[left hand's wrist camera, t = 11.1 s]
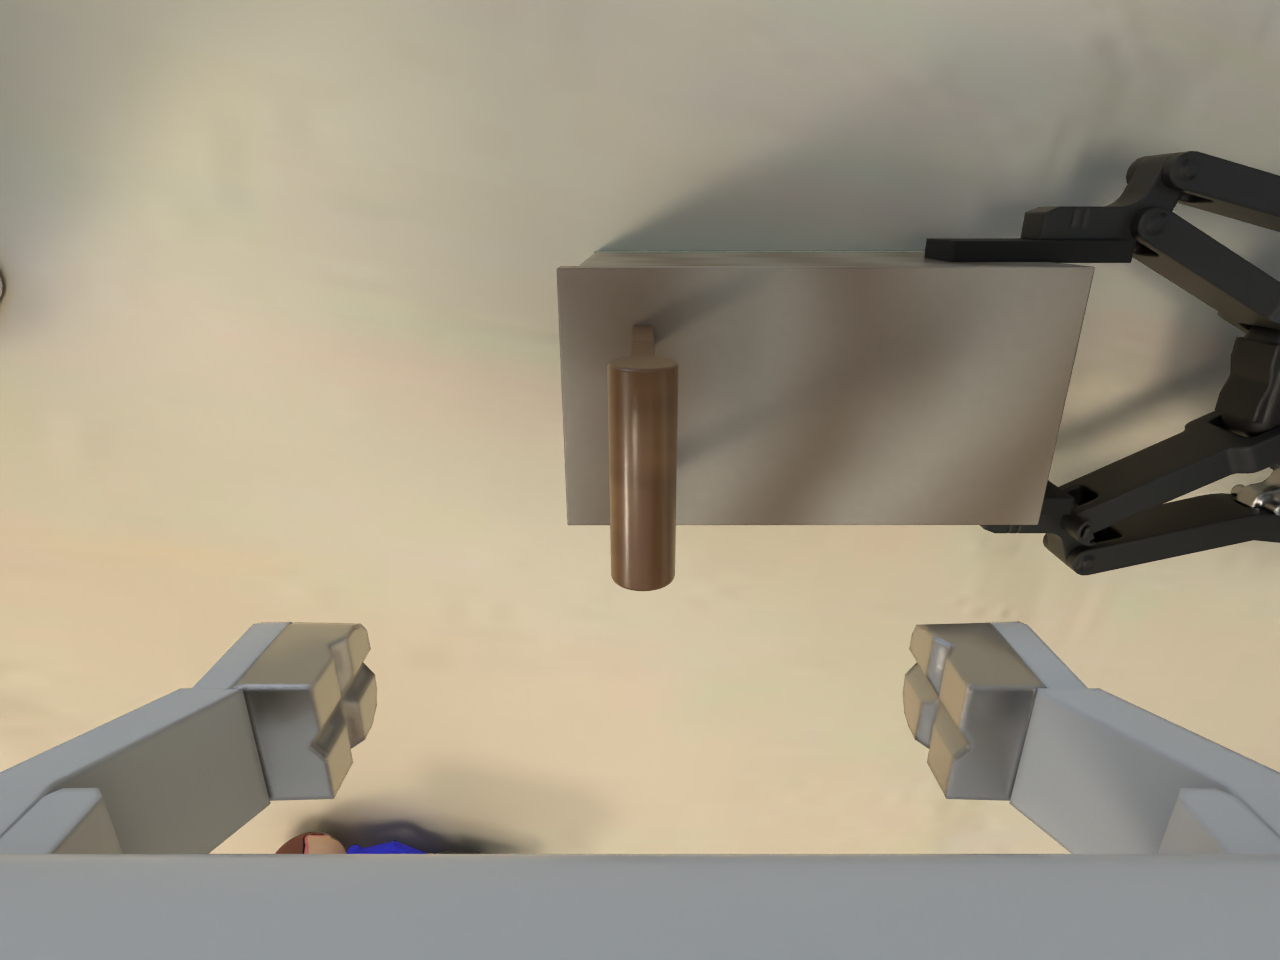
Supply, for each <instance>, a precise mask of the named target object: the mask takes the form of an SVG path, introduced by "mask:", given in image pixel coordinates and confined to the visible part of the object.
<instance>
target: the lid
mask: <svg viewBox="0 0 1280 960" xmlns="http://www.w3.org/2000/svg"><path fill="white" fill-rule="evenodd" d="M1093 274H1094V267H1089V266H1080V265H977V266H560V267H559V268H557V289H558V313H559V336H560V360H561V383H562V407H563V430H564V453H565V477H566V500H567V524H568V525H610V538H611V576H612V578H613V580H614V582H615V583H616V584H618V585H619V586H621V587H623V588H626V589H630V590H635V591H651V590H657V589H660V588H663V587H665V586H667V585H668V584H670V583H671V582H672V580H673V579H674V576H675V539H676V525H1038V522H1039V517H1040V513H1041V508H1042V504H1043V499H1044V495H1045V490H1046V486H1047V481H1048V477H1049V472H1050V468H1051V463H1052V459H1053V454H1054V450H1055V445H1056V441H1057V436H1058V432H1059V427H1060V423H1061V418H1062V414H1063V409H1064V405H1065V400H1066V396H1067V391H1068V386H1069V382H1070V377H1071V373H1072V368H1073V364H1074V359H1075V355H1076V350H1077V346H1078V341H1079V337H1080V332H1081V328H1082V323H1083V319H1084V314H1085V310H1086V305H1087V301H1088V296H1089V292H1090V287H1091V283H1092V278H1093Z"/></svg>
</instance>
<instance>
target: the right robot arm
mask: <svg viewBox="0 0 1280 960" xmlns="http://www.w3.org/2000/svg"><path fill="white" fill-rule="evenodd" d="M1126 180H1127V184H1128V185H1127V187H1126V188H1125V190H1124V192H1123V193H1122V195H1121V196H1120V197H1119V198H1118V199H1117V200H1116V201H1115V202H1114V203H1112V204H1110V205H1108V206H1104V207H1038V208H1036V209H1033V210H1031V211H1028V212H1026V213H1025V217H1024V223H1023V228H1022V234H1021V239H927V241H926V248H925V255H924V258H928V259H935V260H941V261H948V262H1054V263H1131V260H1132V257H1134V258H1135V259H1137V260H1138V261H1140V262H1142V263H1143V264H1145V265H1146V266H1148V267H1149V268H1151V269H1153V270H1154V271H1156V272H1157V273H1159V274H1161V275H1162V276H1164V277H1165V278H1167V279H1168V280H1170V281H1172V282H1173V283H1175V284H1176V285H1178V286H1179V287H1181V288H1183V289H1184V290H1186V291H1187V292H1189V293H1191V294H1192V295H1194V296H1195V297H1197V298H1198V299H1200V300H1202V301H1203V302H1205V303H1206V304H1208V305H1209V306H1211V307H1213V308H1214V309H1216V310H1217V311H1219V312H1218V315H1219V316H1220V317H1222V318H1223V319H1225V320H1226V321H1228V322H1229V323H1231V324H1233V325H1234V326H1236V327H1237V328H1239V329H1241V330H1242V331H1244V332H1245V333H1246V335H1245V336H1244V337H1237V338H1236V341H1235V344H1234V348H1233V351H1232V354H1231V373H1230V376H1229V378H1228V379H1227V381H1226V383H1225V385H1224V386H1223V388H1222V390H1221V392H1220V394H1219V397H1218V401H1217V404H1216V407H1215V410H1216V411H1213V412H1211V413H1209V414H1207V415H1204V416H1202V417H1200V418H1198V419H1195V420H1193V421H1191V422H1189V423H1187V424H1186V425H1185V430H1184V431H1183V432H1182V433H1180V434H1177V435H1175V436H1173V437H1170V438H1168V439H1166V440H1164V441H1161V442H1159V443H1157V444H1155V445H1152V446H1150V447H1148V448H1146V449H1143V450H1141V451H1139V452H1137V453H1134V454H1132V455H1130V456H1128V457H1125V458H1123V459H1121V460H1118V461H1116V462H1114V463H1112V464H1109V465H1107V466H1105V467H1103V468H1100V469H1098V470H1096V471H1094V472H1091V473H1089V474H1087V475H1085V476H1082V477H1080V478H1078V479H1076V480H1073V481H1071V482H1069V483H1066V484H1064V485H1062V486H1060V487H1057V486H1056V485H1054V484H1053V483H1051V482H1049V481H1047V486H1046V490H1045V495H1044V499H1043V504H1042V508H1041V513H1040V517H1039V522H1038V525H980V526H981V527H982V528H983V529H985V530H988V531H991V532H993V533H1046V534H1045V536H1044V539H1043V543H1044V546H1045V547H1046V548H1047V549H1048V550H1049V551H1051V552H1052V553H1053V554H1054V555H1055V556H1057V557H1058V558H1059V559H1060V560H1061V561H1063V562H1064V563H1065V564H1066V565H1067V566H1069V567H1070V568H1071V569H1072V570H1074V571H1075V572H1076V573H1077V574H1080V575H1090V574H1095V573H1100V572H1105V571H1109V570H1114V569H1119V568H1124V567H1128V566H1133V565H1138V564H1143V563H1147V562H1152V561H1157V560H1162V559H1166V558H1171V557H1176V556H1180V555H1185V554H1190V553H1195V552H1199V551H1204V550H1209V549H1214V548H1218V547H1223V546H1228V545H1233V544H1237V543H1242V542H1247V541H1252V540H1258V541H1268V542H1279V543H1280V282H1279V281H1277V280H1275V279H1274V278H1272V277H1271V276H1269V275H1268V274H1266V273H1265V272H1263V271H1262V270H1260V269H1259V268H1257V267H1256V266H1254V265H1253V264H1251V263H1250V262H1248V261H1246V260H1245V259H1243V258H1242V257H1240V256H1239V255H1237V254H1236V253H1234V252H1233V251H1231V250H1230V249H1228V248H1227V247H1225V246H1224V245H1222V244H1221V243H1219V242H1217V241H1216V240H1214V239H1213V238H1211V237H1210V236H1208V235H1207V234H1205V233H1204V232H1202V231H1201V230H1199V229H1198V228H1196V227H1195V226H1193V225H1192V224H1190V223H1188V222H1187V221H1185V220H1184V219H1182V218H1181V217H1179V216H1178V215H1176V214H1175V213H1173V212H1172V210H1173V209H1174V207H1175V205H1176V204H1177V203H1181V204H1184V205H1188V206H1191V207H1195V208H1198V209H1202V210H1205V211H1209V212H1212V213H1216V214H1219V215H1223V216H1226V217H1230V218H1233V219H1237V220H1240V221H1244V222H1247V223H1251V224H1254V225H1257V226H1261V227H1264V228H1268V229H1271V230H1275V231H1278V232H1280V176H1278V175H1275V174H1271V173H1268V172H1265V171H1261V170H1258V169H1254V168H1251V167H1248V166H1244V165H1241V164H1238V163H1234V162H1231V161H1227V160H1224V159H1221V158H1217V157H1214V156H1210V155H1207V154H1204V153H1200V152H1195V151H1188V152H1180V153H1171V154H1162V155H1154V156H1145V157H1141V158H1139V159H1137V160H1136V161H1134V162H1133V163H1132V164H1131V166H1130V167H1129V169H1128V171H1127V175H1126ZM1268 467H1270V468H1271V469H1273V472H1272V474H1271V475H1270V476H1269V477H1268V478H1267V479H1266V480H1264V481H1263V482H1260V483H1256V484H1250V485H1248V486H1244V485H1240V484H1239V485H1236V486H1234V487H1233V488H1232V490H1231V494H1222V493H1221V494H1209V495H1203V496H1197V497H1193V498H1188V499H1184V500H1179V501H1174V502H1170V503H1166V502H1168V501H1170V500H1173V499H1175V498H1177V497H1180V496H1182V495H1184V494H1187V493H1189V492H1191V491H1194V490H1196V489H1198V488H1201V487H1203V486H1205V485H1208V484H1210V483H1212V482H1215V481H1217V480H1219V479H1222V478H1224V477H1226V476H1229V475H1231V474H1235V473H1254V472H1258V471H1261V470H1263V469H1265V468H1268ZM1163 503H1165V504H1163Z"/></svg>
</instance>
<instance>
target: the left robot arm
mask: <svg viewBox="0 0 1280 960" xmlns="http://www.w3.org/2000/svg"><path fill="white" fill-rule="evenodd" d="M1 294H2V281H1V278H0V297H1ZM370 649H371V648H370V643H369V638H368V633H367V629H366V628H365V627H364V626H363V625H362V624H355V623H305V622H295V623H292V622H261V623H257V624H253V625H252V626H251V627H250V628H249V629H248V630H247V631H246V632H245V633H244V634H243V636H242V637H241V638H240V639H239V640H238V641H237V642H236V643H235V644H234V645H233V646H232V647H231V648H230V649H229V650H228V651H227V652H226V653H225V654H224V655H223V656H222V658H221V659H220V660H219V661H218V662H217V663H216V664H215V665H214V666H213V667H212V668H211V669H210V670H209V671H208V672H207V673H206V674H205V675H204V676H203V677H202V678H201V680H200V681H199V682H198V683H197V684H196V685H195V686H194V687H193V688H192V689H179V690H177V691H174V692H172V693H170V694H168V695H166V696H164V697H161V698H159V699H157V700H155V701H153V702H151V703H149V704H146V705H144V706H142V707H140V708H138V709H136V710H134V711H131V712H129V713H127V714H125V715H123V716H121V717H118V718H116V719H114V720H112V721H110V722H108V723H106V724H103V725H101V726H99V727H97V728H95V729H93V730H91V731H88V732H86V733H84V734H82V735H80V736H78V737H75V738H73V739H71V740H69V741H67V742H65V743H63V744H60V745H58V746H56V747H54V748H52V749H50V750H48V751H45V752H43V753H41V754H39V755H37V756H35V757H32V758H30V759H28V760H26V761H24V762H22V763H20V764H17V765H15V766H13V767H11V768H9V769H7V770H5V771H2V772H0V960H1280V773H1279V772H1277V771H1275V770H1273V769H1271V768H1269V767H1266V766H1264V765H1262V764H1260V763H1258V762H1256V761H1254V760H1251V759H1249V758H1247V757H1245V756H1243V755H1241V754H1239V753H1236V752H1234V751H1232V750H1230V749H1228V748H1226V747H1224V746H1221V745H1219V744H1217V743H1215V742H1213V741H1211V740H1209V739H1206V738H1204V737H1202V736H1200V735H1198V734H1196V733H1194V732H1191V731H1189V730H1187V729H1185V728H1183V727H1181V726H1179V725H1176V724H1174V723H1172V722H1170V721H1168V720H1166V719H1164V718H1161V717H1159V716H1157V715H1155V714H1153V713H1151V712H1149V711H1146V710H1144V709H1142V708H1140V707H1138V706H1136V705H1134V704H1131V703H1129V702H1127V701H1125V700H1123V699H1121V698H1119V697H1116V696H1114V695H1112V694H1110V693H1108V692H1106V691H1104V690H1101V689H1088V688H1087V687H1086V686H1085V685H1084V684H1083V683H1082V682H1081V681H1080V679H1079V678H1078V677H1077V676H1076V675H1075V674H1074V673H1073V672H1072V671H1071V670H1070V669H1069V668H1068V667H1067V666H1066V665H1065V664H1064V663H1063V662H1062V661H1061V660H1060V658H1059V657H1058V656H1057V655H1056V654H1055V653H1054V652H1053V651H1052V650H1051V649H1050V648H1049V647H1048V646H1047V645H1046V644H1045V643H1044V642H1043V641H1042V640H1041V639H1040V637H1039V636H1038V635H1037V634H1036V633H1035V632H1034V631H1033V630H1032V629H1031V628H1030V627H1029V626H1028V625H1026V624H1024V623H1021V622H994V623H969V624H929V625H916V627H915V629H914V631H913V633H912V637H911V642H910V648H909V649H910V651H911V653H912V654H913V656H914V658H915V659H916V661H917V663H916V664H915V665H914V666H913V667H912V668H911V669H910V670H909V671H908V672H907V673H906V674H905V680H904V688H903V702H904V713H905V716H906V720H907V723H908V726H909V728H910V730H911V732H912V734H913V736H914V738H915V740H917V741H918V742H920V743H921V744H923V745H924V746H926V747H927V748H929V754H928V759H927V763H928V765H929V767H930V769H931V771H932V773H933V774H934V776H935V778H936V780H937V782H938V784H939V786H940V788H941V789H942V791H943V793H944V795H945V797H946V799H972V800H1008V801H1010V804H1011V805H1012V806H1013V807H1015V808H1016V809H1017V810H1018V811H1020V812H1021V813H1022V814H1023V815H1024V816H1026V817H1027V818H1028V819H1029V820H1031V821H1032V822H1033V823H1034V824H1036V825H1037V826H1038V827H1039V828H1041V829H1042V830H1043V831H1044V832H1046V833H1047V834H1048V835H1049V836H1051V837H1052V838H1053V839H1054V840H1055V841H1057V842H1058V843H1059V844H1060V845H1062V846H1063V847H1064V848H1065V849H1067V850H1068V851H1069V852H1070V853H1072V854H209V853H210V852H211V851H212V850H214V849H215V848H216V847H217V846H219V845H220V844H221V843H222V842H224V841H225V840H226V839H227V838H228V837H230V836H231V835H232V834H233V833H235V832H236V831H237V830H238V829H240V828H241V827H242V826H243V825H245V824H246V823H247V822H248V821H250V820H251V819H252V818H253V817H255V816H256V815H257V814H258V813H260V812H261V811H262V810H263V809H265V808H266V807H267V806H268V805H269V804H270V801H272V800H307V799H334V797H335V795H336V793H337V791H338V790H339V788H340V786H341V784H342V782H343V780H344V778H345V776H346V775H347V773H348V771H349V769H350V767H351V765H352V763H353V759H352V754H351V748H353V747H354V746H356V745H357V744H359V743H360V742H362V741H363V740H365V738H366V736H367V734H368V732H369V730H370V728H371V726H372V724H373V719H374V715H375V710H376V706H377V686H376V679H375V674H374V673H373V672H372V671H371V670H370V669H369V668H368V667H367V666H366V665H365V664H364V663H363V661H364V659H365V658H366V656H367V654H368V653H369V651H370Z"/></svg>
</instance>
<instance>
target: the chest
mask: <svg viewBox="0 0 1280 960" xmlns="http://www.w3.org/2000/svg"><path fill="white" fill-rule="evenodd" d="M924 255H925V251H595V252H594V254H593V255H592V256H590V257H589V258H588V259H587V260H586V261H584V262H583V263H582V264H581V265H579V266H977V265H1072V264H1063V263H1054V262H948V261H941V260H935V259H928V258H924Z"/></svg>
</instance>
